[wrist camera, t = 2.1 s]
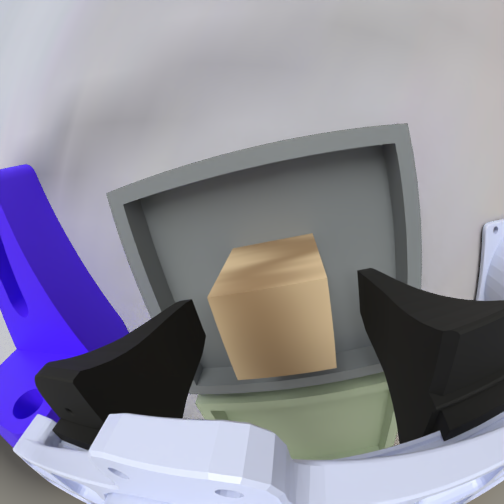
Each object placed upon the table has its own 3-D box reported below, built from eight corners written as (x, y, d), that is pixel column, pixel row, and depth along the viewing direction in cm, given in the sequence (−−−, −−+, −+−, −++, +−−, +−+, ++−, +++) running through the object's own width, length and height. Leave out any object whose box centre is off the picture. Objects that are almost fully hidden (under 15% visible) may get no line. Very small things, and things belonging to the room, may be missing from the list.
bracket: (148, 367, 19) (82, 489, 8) (65, 362, 21) (3, 440, 10) (63, 135, 14) (-94, 161, 3) (-5, 189, 16) (-104, 229, 5)
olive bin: (400, 350, 16) (411, 374, 14) (384, 440, 20) (388, 460, 18) (203, 378, 18) (195, 403, 16) (247, 457, 23) (244, 476, 20)
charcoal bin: (387, 127, 12) (407, 123, 9) (400, 339, 16) (413, 363, 13) (131, 186, 14) (106, 193, 12) (199, 369, 18) (189, 394, 16)
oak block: (312, 233, 13) (327, 277, 8) (323, 304, 14) (336, 367, 10) (232, 248, 14) (207, 297, 9) (251, 315, 15) (237, 380, 10)
